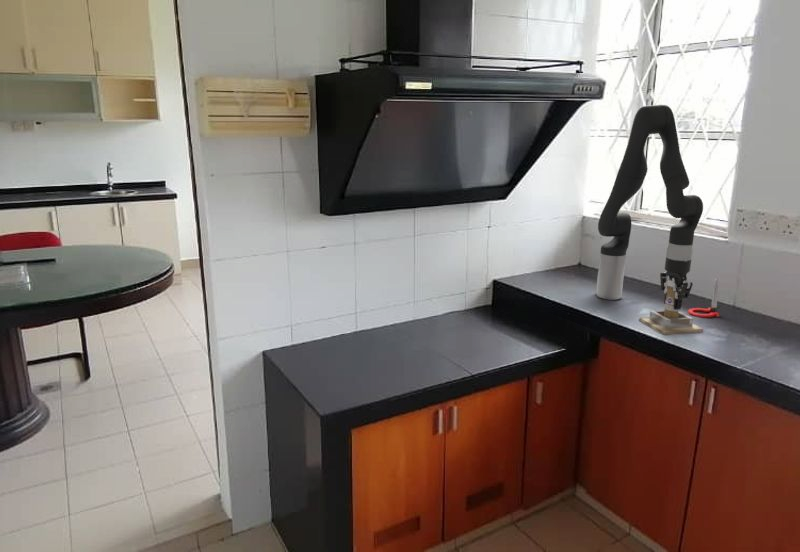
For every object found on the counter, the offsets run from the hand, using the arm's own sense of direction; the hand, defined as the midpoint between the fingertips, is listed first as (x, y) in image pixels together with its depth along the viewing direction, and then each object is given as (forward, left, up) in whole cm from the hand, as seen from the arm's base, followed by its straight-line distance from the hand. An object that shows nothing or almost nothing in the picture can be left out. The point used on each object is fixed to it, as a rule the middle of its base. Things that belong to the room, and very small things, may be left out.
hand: (672, 306), depth 191 cm
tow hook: (-9, +19, -7) cm, 22 cm away
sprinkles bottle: (0, 0, -4) cm, 4 cm away
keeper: (0, 0, -7) cm, 7 cm away
